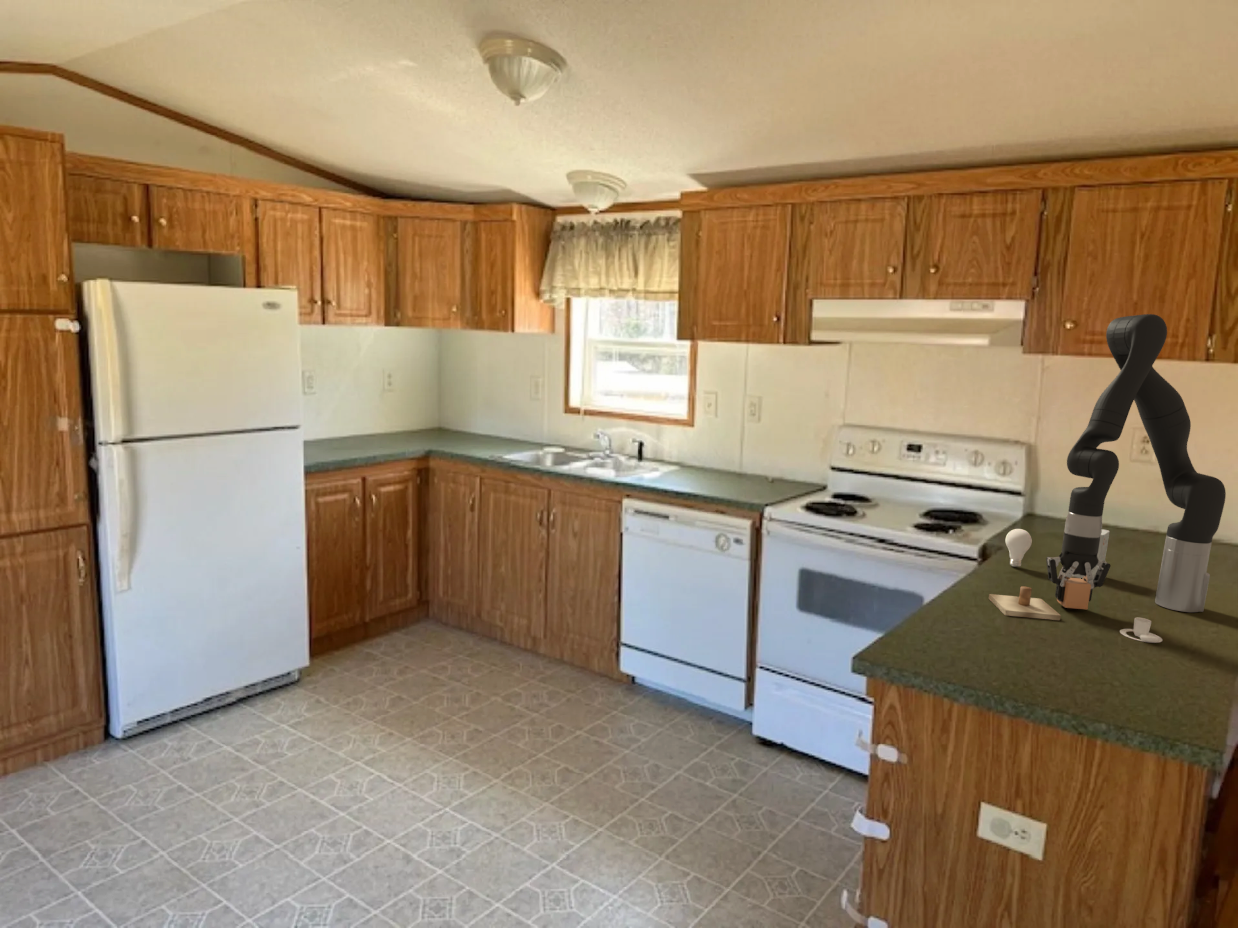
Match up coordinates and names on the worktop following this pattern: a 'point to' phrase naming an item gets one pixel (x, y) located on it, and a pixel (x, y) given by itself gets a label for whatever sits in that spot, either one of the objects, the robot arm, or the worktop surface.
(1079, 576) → the small box
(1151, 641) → the white ring and cup
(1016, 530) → the light bulb
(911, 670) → the worktop surface
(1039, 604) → the post base
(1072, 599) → the salmon cube
